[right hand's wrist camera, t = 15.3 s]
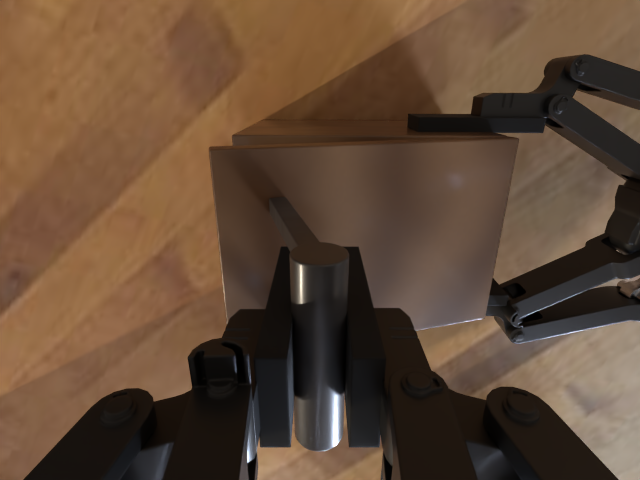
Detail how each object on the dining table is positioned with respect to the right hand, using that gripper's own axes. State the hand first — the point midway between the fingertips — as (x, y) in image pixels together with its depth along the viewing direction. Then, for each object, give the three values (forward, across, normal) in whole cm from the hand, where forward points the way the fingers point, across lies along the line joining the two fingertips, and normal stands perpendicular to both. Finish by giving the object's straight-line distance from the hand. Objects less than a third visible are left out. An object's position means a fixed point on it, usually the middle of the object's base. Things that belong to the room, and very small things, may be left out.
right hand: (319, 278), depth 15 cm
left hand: (+9, -5, 0) cm, 10 cm away
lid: (+4, -2, 0) cm, 4 cm away
